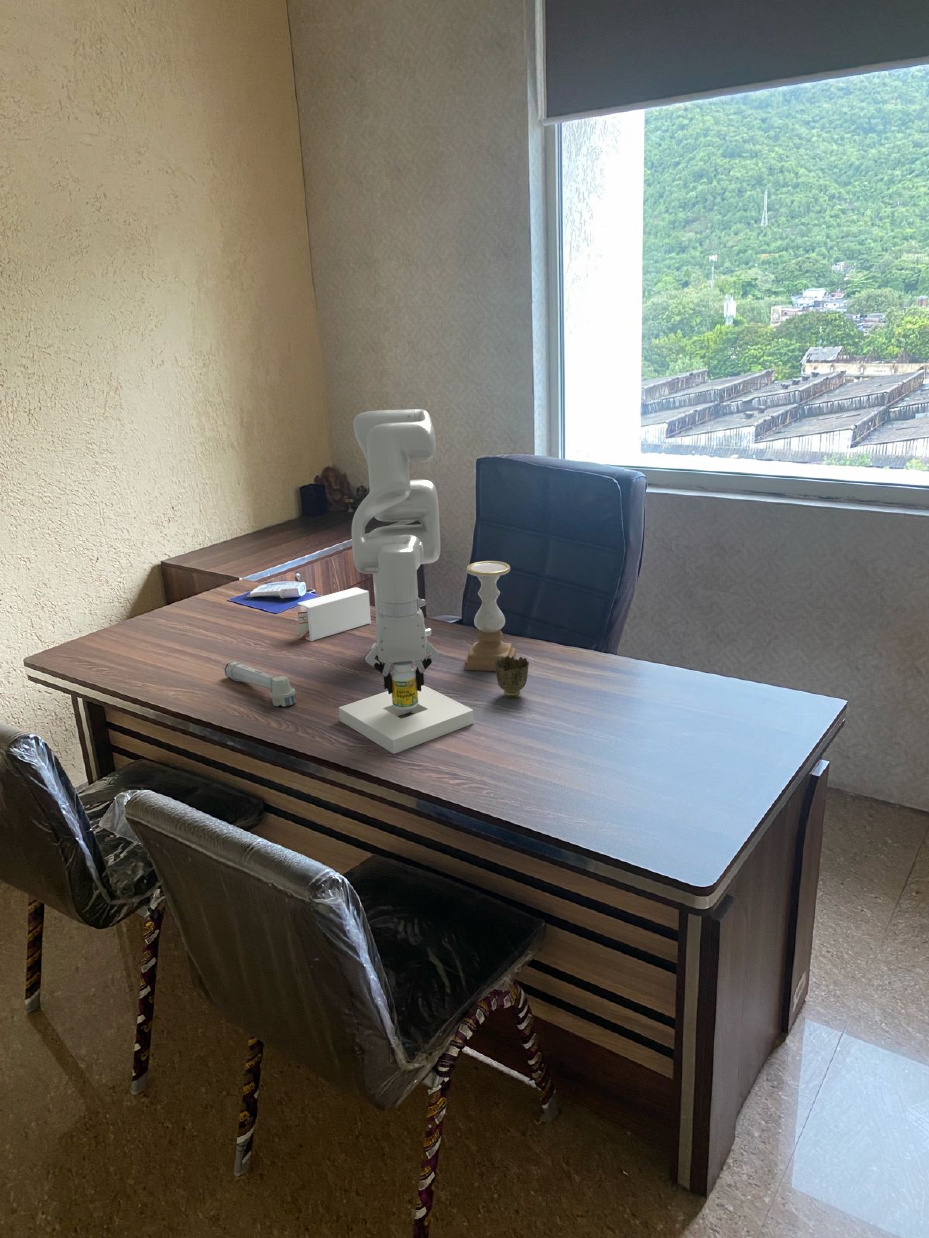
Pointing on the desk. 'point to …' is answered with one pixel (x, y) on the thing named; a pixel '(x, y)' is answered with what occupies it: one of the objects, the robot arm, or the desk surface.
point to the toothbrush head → (263, 682)
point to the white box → (334, 613)
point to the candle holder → (488, 619)
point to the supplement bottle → (404, 686)
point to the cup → (511, 675)
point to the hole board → (406, 719)
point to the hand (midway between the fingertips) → (404, 689)
